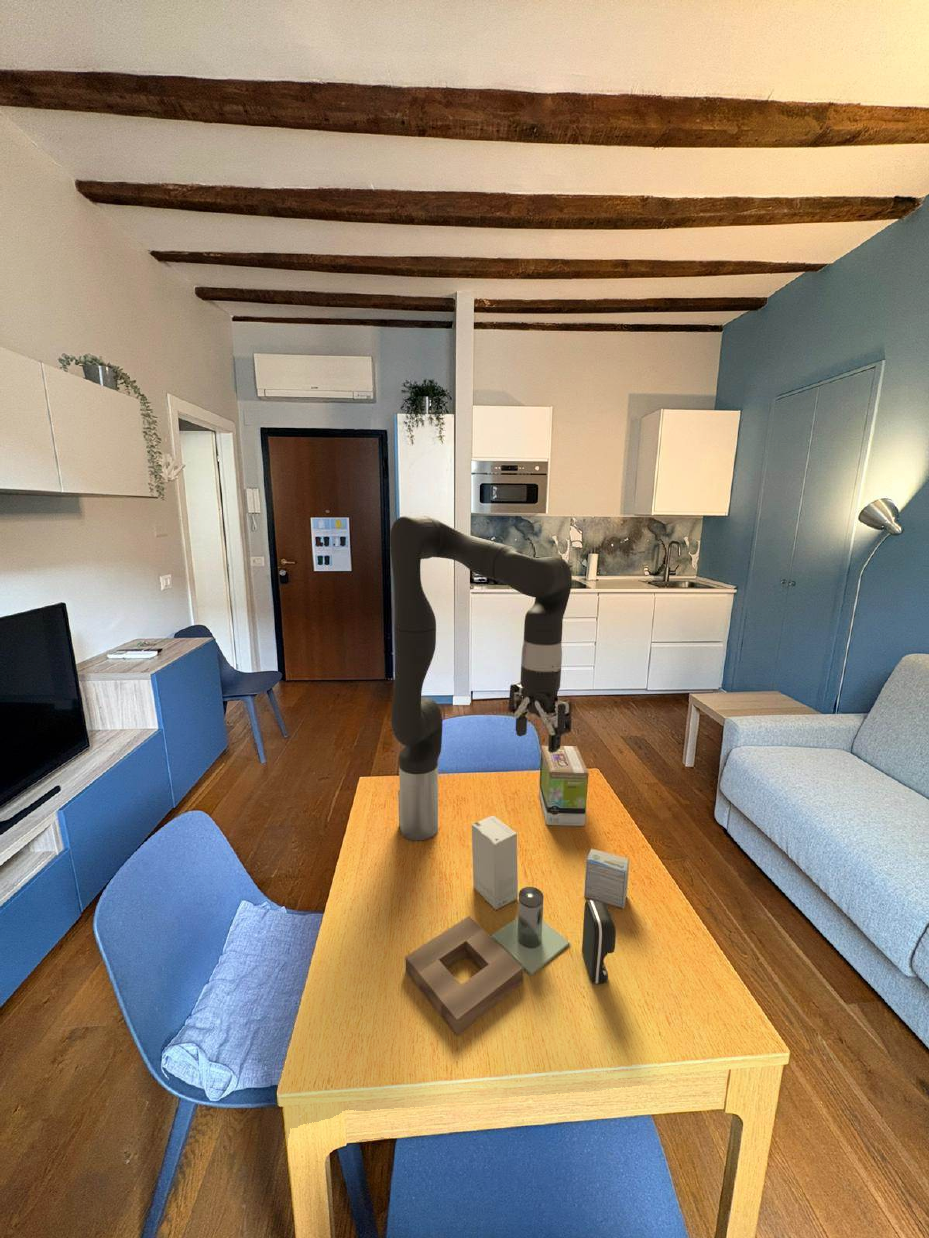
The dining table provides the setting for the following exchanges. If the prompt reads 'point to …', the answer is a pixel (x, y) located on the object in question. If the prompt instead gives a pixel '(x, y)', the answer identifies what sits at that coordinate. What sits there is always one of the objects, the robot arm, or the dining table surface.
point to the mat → (530, 956)
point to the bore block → (476, 993)
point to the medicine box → (606, 878)
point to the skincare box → (495, 861)
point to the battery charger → (597, 939)
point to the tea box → (563, 786)
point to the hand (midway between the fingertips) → (536, 742)
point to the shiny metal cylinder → (530, 917)
